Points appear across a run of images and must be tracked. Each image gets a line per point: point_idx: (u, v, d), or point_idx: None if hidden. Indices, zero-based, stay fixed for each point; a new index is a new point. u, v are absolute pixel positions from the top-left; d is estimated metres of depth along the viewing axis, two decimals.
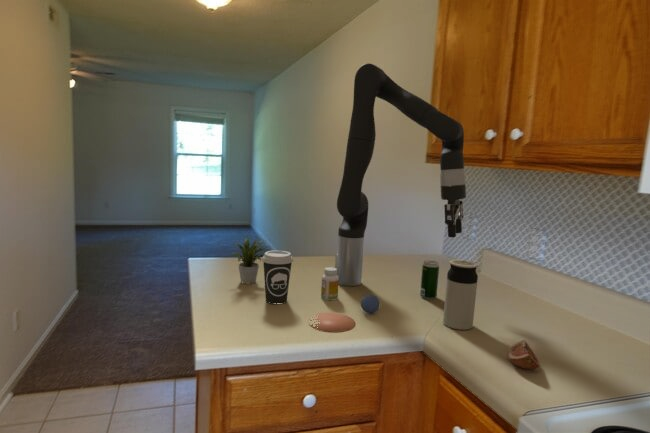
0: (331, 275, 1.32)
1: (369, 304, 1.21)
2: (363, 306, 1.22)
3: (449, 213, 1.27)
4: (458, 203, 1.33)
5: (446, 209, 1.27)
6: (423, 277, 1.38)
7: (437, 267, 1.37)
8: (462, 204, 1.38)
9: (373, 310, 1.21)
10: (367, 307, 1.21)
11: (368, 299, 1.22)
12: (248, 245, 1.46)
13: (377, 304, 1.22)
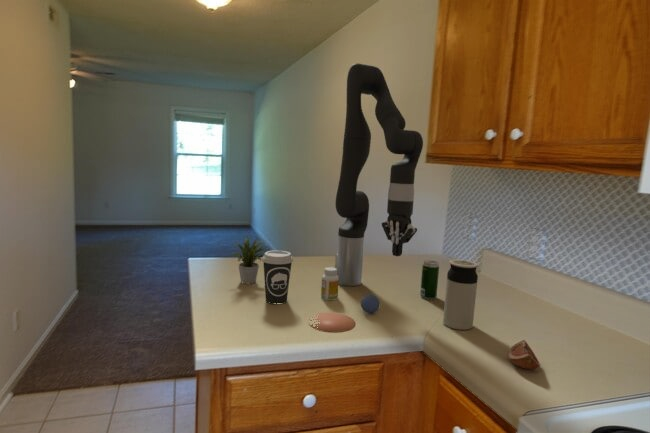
0: (331, 275, 1.32)
1: (369, 304, 1.21)
2: (363, 306, 1.22)
3: None
4: (400, 220, 1.24)
5: None
6: (423, 277, 1.38)
7: (437, 267, 1.37)
8: (409, 233, 1.21)
9: (373, 310, 1.21)
10: (367, 307, 1.21)
11: (368, 299, 1.22)
12: (248, 245, 1.46)
13: (377, 304, 1.22)
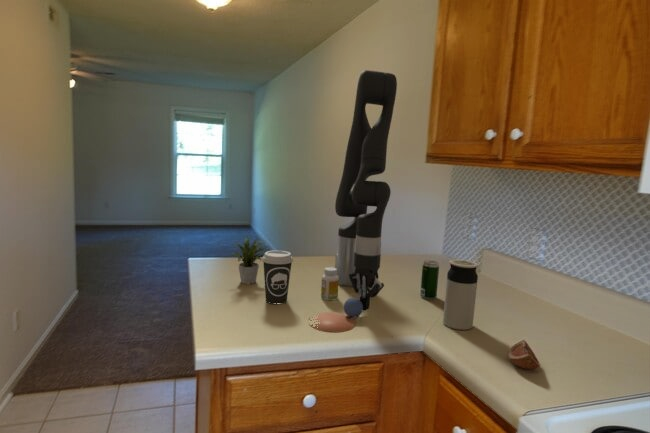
0: (331, 275, 1.32)
1: (354, 315, 1.18)
2: None
3: None
4: (367, 274, 1.19)
5: None
6: (423, 277, 1.38)
7: (437, 267, 1.37)
8: (375, 289, 1.16)
9: (361, 311, 1.19)
10: (356, 316, 1.19)
11: (349, 314, 1.18)
12: (248, 245, 1.46)
13: (357, 308, 1.18)
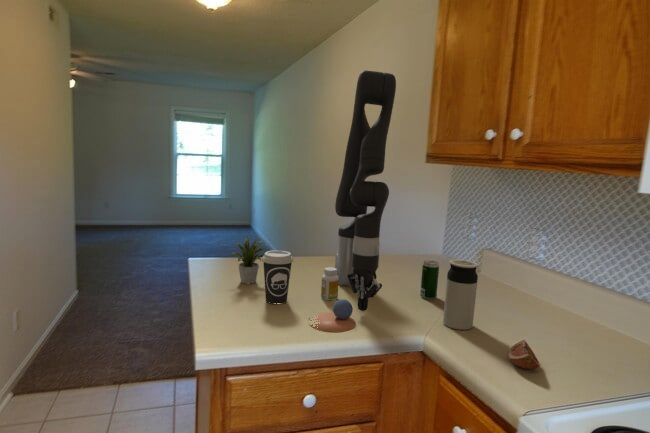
0: (331, 275, 1.32)
1: (350, 315, 1.17)
2: None
3: None
4: (365, 275, 1.18)
5: None
6: (423, 277, 1.38)
7: (437, 267, 1.37)
8: (373, 289, 1.16)
9: (350, 308, 1.16)
10: None
11: None
12: (248, 245, 1.46)
13: (345, 313, 1.16)
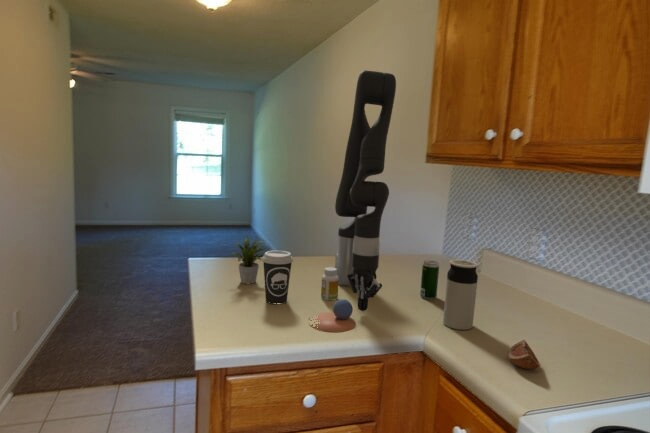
0: (331, 275, 1.32)
1: (350, 315, 1.17)
2: None
3: None
4: (365, 275, 1.18)
5: None
6: (423, 277, 1.38)
7: (437, 267, 1.37)
8: (373, 289, 1.16)
9: (350, 308, 1.16)
10: None
11: None
12: (248, 245, 1.46)
13: (345, 313, 1.16)
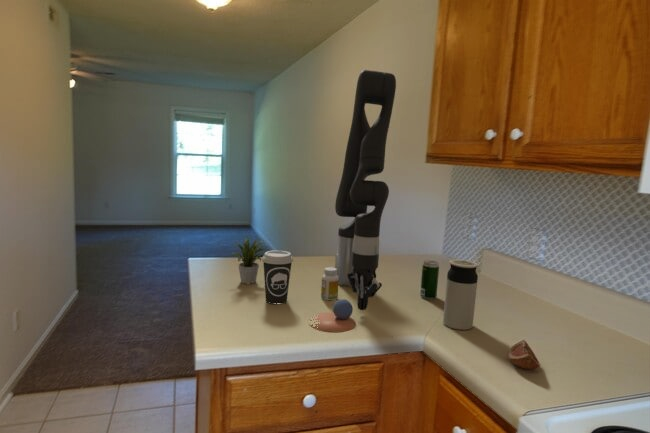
0: (331, 275, 1.32)
1: (350, 315, 1.17)
2: None
3: None
4: (365, 274, 1.18)
5: None
6: (423, 277, 1.38)
7: (437, 267, 1.37)
8: (373, 289, 1.16)
9: (350, 308, 1.16)
10: None
11: None
12: (248, 245, 1.46)
13: (345, 313, 1.16)
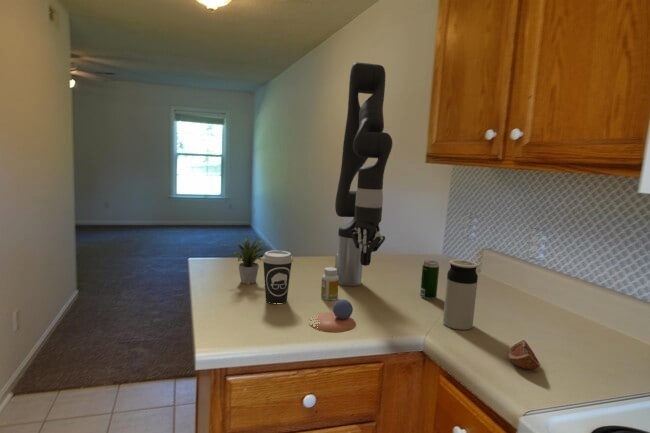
0: (331, 275, 1.32)
1: (350, 315, 1.17)
2: None
3: None
4: (368, 228, 1.16)
5: None
6: (423, 277, 1.38)
7: (437, 267, 1.37)
8: (376, 242, 1.14)
9: (350, 308, 1.16)
10: None
11: None
12: (248, 245, 1.46)
13: (345, 313, 1.16)
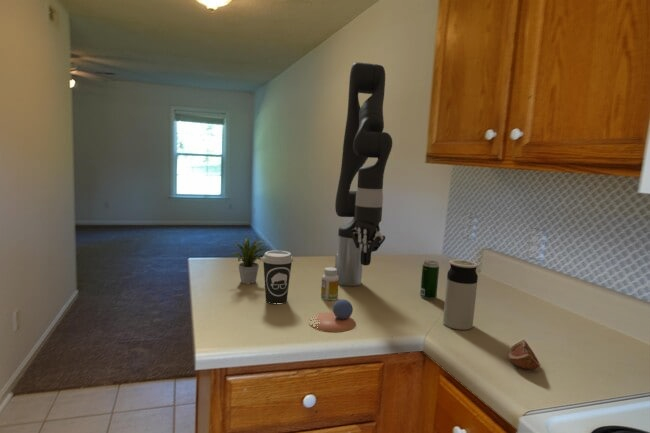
0: (331, 275, 1.32)
1: (350, 315, 1.17)
2: None
3: None
4: (368, 227, 1.16)
5: None
6: (423, 277, 1.38)
7: (437, 267, 1.37)
8: (377, 241, 1.14)
9: (350, 308, 1.16)
10: None
11: None
12: (248, 245, 1.46)
13: (345, 313, 1.16)
